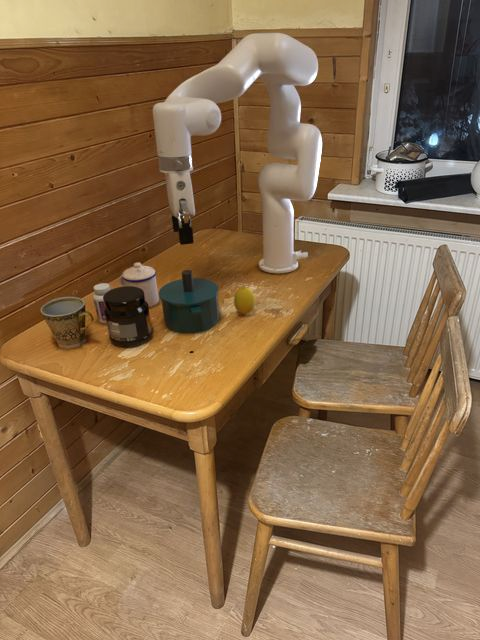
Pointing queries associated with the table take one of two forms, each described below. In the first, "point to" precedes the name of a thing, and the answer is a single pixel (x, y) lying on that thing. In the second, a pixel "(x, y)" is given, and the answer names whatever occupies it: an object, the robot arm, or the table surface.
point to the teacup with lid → (142, 281)
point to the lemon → (244, 300)
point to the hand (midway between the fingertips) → (183, 237)
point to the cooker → (191, 316)
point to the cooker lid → (188, 290)
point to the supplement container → (127, 316)
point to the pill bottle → (100, 300)
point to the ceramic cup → (67, 320)
